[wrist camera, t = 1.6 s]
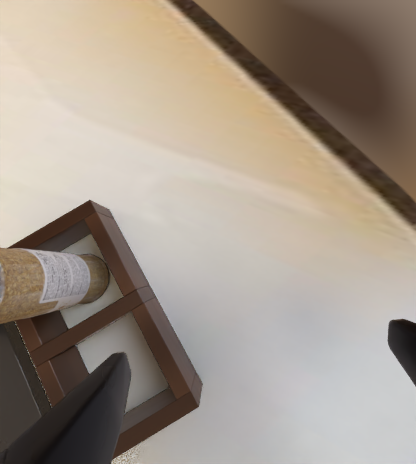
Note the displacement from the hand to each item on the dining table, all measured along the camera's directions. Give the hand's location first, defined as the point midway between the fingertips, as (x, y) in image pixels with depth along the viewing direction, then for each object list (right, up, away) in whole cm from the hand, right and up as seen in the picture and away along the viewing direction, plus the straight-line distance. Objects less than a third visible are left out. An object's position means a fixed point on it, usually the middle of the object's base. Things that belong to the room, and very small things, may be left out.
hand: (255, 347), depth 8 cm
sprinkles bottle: (-13, 0, +15) cm, 20 cm away
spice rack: (-11, -4, +14) cm, 18 cm away
